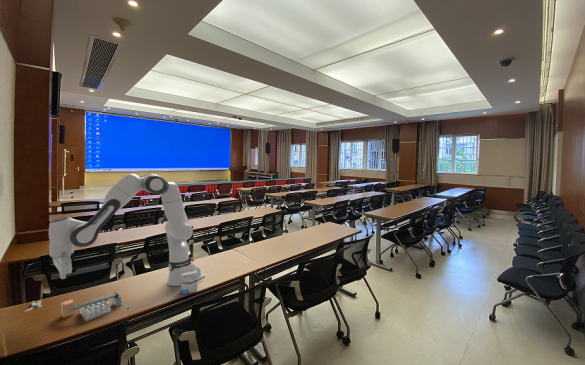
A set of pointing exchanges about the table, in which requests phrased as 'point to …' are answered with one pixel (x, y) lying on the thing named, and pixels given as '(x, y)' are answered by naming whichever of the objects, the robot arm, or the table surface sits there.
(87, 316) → the heatsink
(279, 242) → the table surface
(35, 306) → the pliers
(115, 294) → the strap
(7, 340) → the table surface
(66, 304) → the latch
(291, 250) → the table surface
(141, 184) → the robot arm
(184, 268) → the ink box
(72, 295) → the table surface
